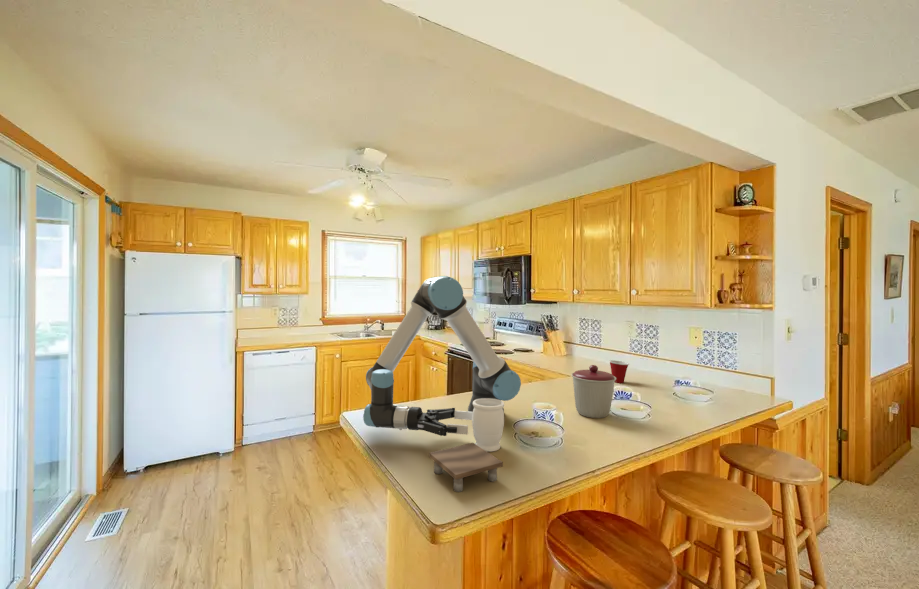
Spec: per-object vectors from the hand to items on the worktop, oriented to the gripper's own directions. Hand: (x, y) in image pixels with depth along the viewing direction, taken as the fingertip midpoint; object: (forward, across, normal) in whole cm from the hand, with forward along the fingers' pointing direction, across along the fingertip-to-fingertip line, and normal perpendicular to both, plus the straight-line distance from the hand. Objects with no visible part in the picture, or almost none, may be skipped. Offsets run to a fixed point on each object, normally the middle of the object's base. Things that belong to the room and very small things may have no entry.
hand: (470, 422), depth 128 cm
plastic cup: (+73, -107, -8) cm, 130 cm away
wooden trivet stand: (+1, +20, -8) cm, 22 cm away
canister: (+47, -43, -8) cm, 64 cm away
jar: (+6, 0, -8) cm, 10 cm away
